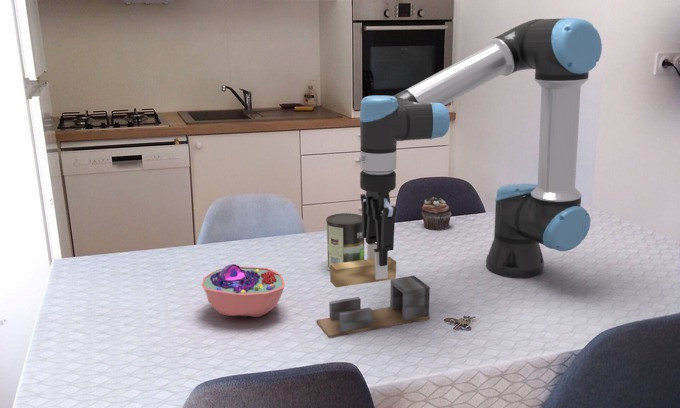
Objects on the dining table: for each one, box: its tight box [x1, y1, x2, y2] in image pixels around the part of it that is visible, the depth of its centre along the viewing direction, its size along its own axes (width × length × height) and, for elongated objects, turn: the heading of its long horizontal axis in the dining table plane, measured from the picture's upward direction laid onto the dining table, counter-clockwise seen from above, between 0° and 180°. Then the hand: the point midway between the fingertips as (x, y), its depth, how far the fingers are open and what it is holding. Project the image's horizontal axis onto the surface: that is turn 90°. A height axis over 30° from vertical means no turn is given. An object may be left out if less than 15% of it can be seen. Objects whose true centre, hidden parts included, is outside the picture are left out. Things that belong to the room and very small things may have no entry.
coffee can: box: [325, 212, 365, 272], centre depth 173 cm, size 10×10×14 cm
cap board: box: [316, 275, 430, 339], centre depth 142 cm, size 24×8×8 cm, turn 111°
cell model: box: [201, 263, 286, 318], centre depth 146 cm, size 17×20×11 cm
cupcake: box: [421, 195, 452, 231], centre depth 208 cm, size 10×10×10 cm
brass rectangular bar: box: [329, 256, 397, 288], centre depth 139 cm, size 14×4×4 cm, turn 111°
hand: (377, 274), depth 140 cm, fingers closed on brass rectangular bar, 3 cm apart
